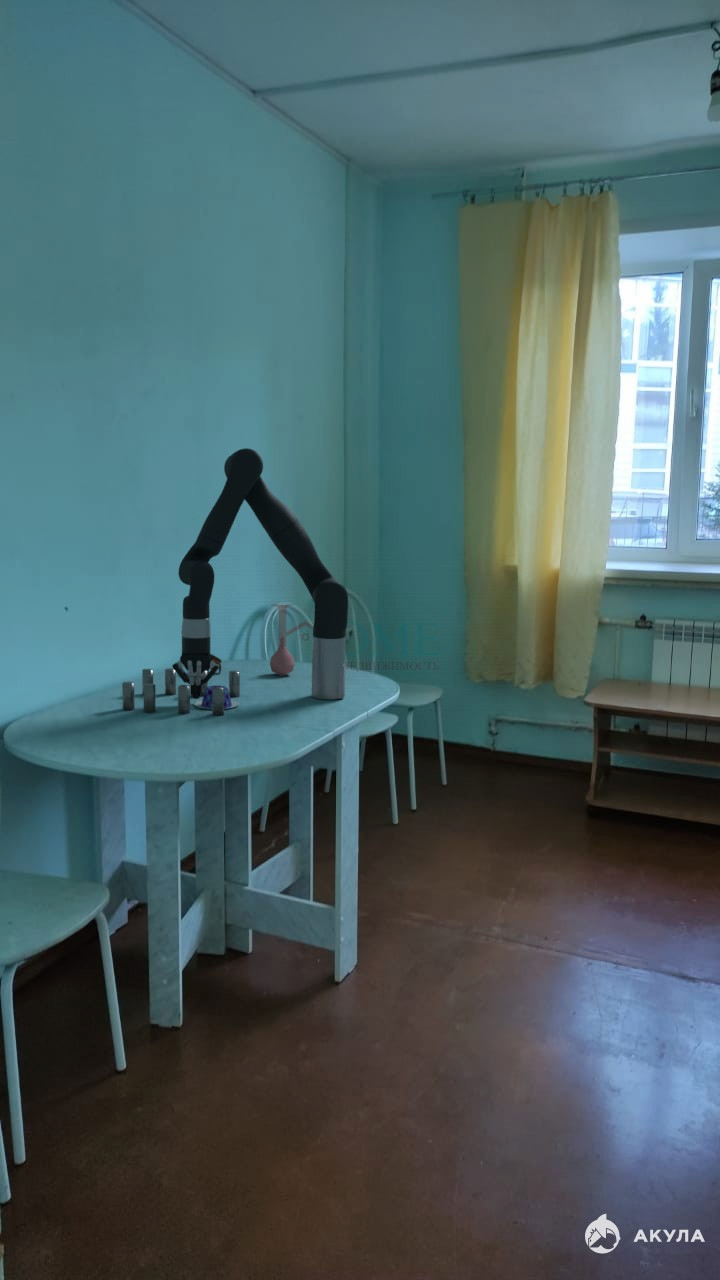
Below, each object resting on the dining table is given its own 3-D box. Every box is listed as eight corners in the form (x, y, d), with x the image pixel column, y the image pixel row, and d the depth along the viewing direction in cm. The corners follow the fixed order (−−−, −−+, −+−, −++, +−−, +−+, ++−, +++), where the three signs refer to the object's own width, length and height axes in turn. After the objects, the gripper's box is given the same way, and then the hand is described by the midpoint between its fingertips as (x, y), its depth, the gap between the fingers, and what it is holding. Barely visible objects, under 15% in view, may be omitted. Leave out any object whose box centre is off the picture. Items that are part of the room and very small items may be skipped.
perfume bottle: (293, 677, 287) (293, 639, 285) (268, 677, 287) (269, 639, 285) (295, 673, 295) (295, 635, 293) (271, 672, 295) (271, 635, 293)
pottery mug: (185, 673, 292) (196, 650, 294) (212, 686, 294) (223, 663, 295) (188, 671, 280) (200, 646, 282) (216, 684, 282) (228, 660, 284)
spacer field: (240, 695, 261) (240, 670, 260) (222, 716, 237) (222, 689, 235) (146, 691, 263) (146, 667, 262) (118, 712, 238) (118, 685, 237)
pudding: (192, 711, 242) (192, 692, 241) (195, 701, 254) (195, 682, 253) (238, 711, 243) (238, 692, 242) (239, 701, 255) (240, 682, 254)
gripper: (223, 633, 250) (223, 696, 252) (175, 631, 250) (175, 694, 253) (217, 637, 242) (217, 702, 245) (168, 635, 243) (168, 700, 246)
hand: (196, 698), depth 249 cm, fingers closed
